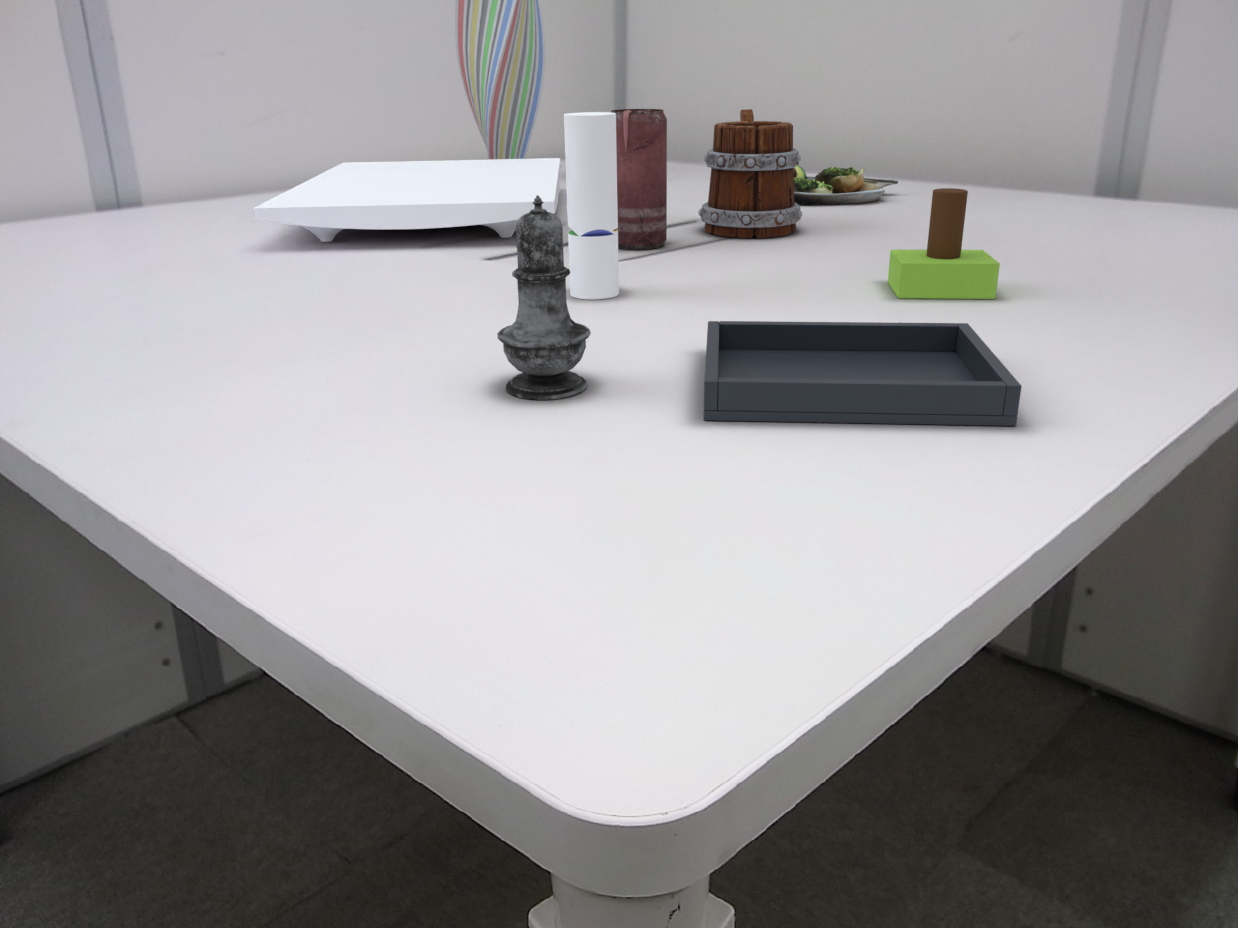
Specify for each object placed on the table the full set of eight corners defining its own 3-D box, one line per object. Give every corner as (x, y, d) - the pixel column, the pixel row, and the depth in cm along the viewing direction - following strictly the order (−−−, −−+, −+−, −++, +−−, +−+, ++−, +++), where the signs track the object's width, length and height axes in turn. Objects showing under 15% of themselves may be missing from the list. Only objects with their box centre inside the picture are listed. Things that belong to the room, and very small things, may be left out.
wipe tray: (963, 357, 69) (968, 323, 68) (1016, 426, 57) (1022, 385, 56) (707, 354, 71) (708, 320, 70) (703, 420, 59) (704, 381, 58)
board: (556, 245, 110) (554, 201, 109) (259, 252, 110) (253, 208, 108) (561, 190, 152) (560, 158, 150) (346, 195, 151) (342, 162, 149)
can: (603, 250, 108) (600, 111, 102) (617, 239, 113) (615, 107, 108) (659, 251, 106) (659, 111, 101) (671, 240, 112) (671, 107, 107)
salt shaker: (481, 387, 65) (468, 196, 60) (550, 367, 69) (543, 186, 64) (541, 407, 61) (531, 205, 56) (611, 385, 65) (607, 194, 60)
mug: (701, 238, 111) (702, 95, 108) (694, 238, 125) (695, 111, 122) (808, 237, 111) (812, 93, 107) (789, 237, 125) (792, 110, 121)
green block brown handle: (978, 283, 90) (990, 185, 87) (995, 299, 85) (1008, 195, 81) (887, 283, 91) (895, 186, 88) (898, 298, 85) (907, 195, 82)
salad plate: (885, 187, 149) (888, 154, 148) (912, 204, 133) (916, 168, 131) (754, 188, 150) (755, 156, 149) (765, 206, 134) (766, 170, 132)
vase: (555, 174, 171) (547, -22, 159) (542, 184, 159) (532, -27, 147) (477, 174, 172) (463, -20, 161) (457, 185, 160) (441, -25, 148)
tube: (587, 286, 92) (582, 111, 86) (627, 291, 89) (625, 112, 84) (560, 296, 88) (553, 115, 82) (602, 301, 86) (598, 116, 80)
